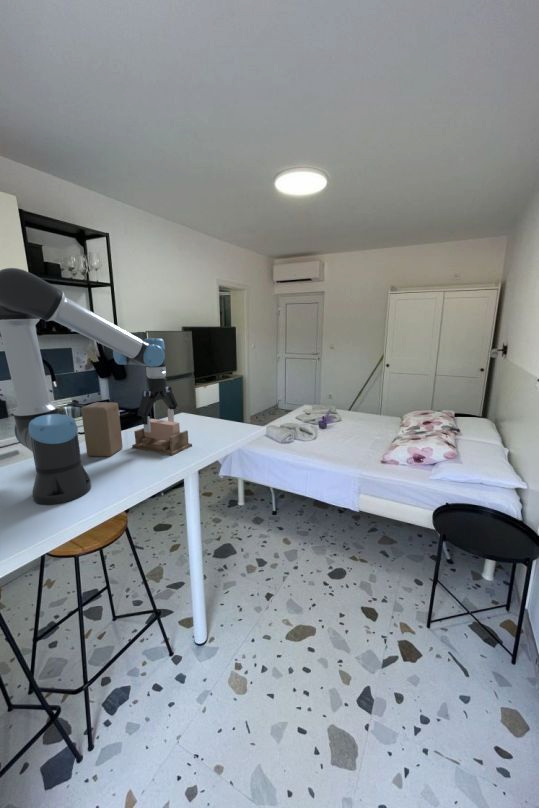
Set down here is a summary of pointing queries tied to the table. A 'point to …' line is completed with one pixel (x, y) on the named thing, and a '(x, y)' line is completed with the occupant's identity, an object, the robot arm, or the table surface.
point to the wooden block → (102, 428)
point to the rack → (162, 443)
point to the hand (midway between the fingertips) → (159, 427)
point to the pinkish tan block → (162, 429)
